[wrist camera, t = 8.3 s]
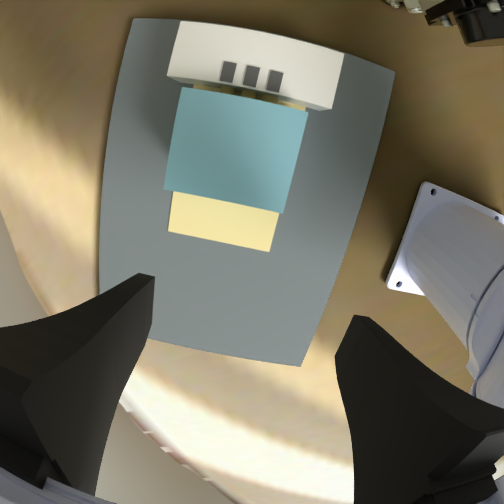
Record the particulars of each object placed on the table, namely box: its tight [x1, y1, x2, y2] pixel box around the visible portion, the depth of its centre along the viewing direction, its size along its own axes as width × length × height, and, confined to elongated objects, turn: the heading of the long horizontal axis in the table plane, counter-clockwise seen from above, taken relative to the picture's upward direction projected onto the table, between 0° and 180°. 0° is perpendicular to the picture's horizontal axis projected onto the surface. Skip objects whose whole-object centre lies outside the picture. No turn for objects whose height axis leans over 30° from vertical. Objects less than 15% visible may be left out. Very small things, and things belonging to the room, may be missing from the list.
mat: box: [99, 18, 396, 367], centre depth 19 cm, size 16×22×1 cm
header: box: [167, 21, 344, 111], centre depth 15 cm, size 8×6×3 cm
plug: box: [163, 87, 308, 214], centre depth 15 cm, size 5×5×5 cm
